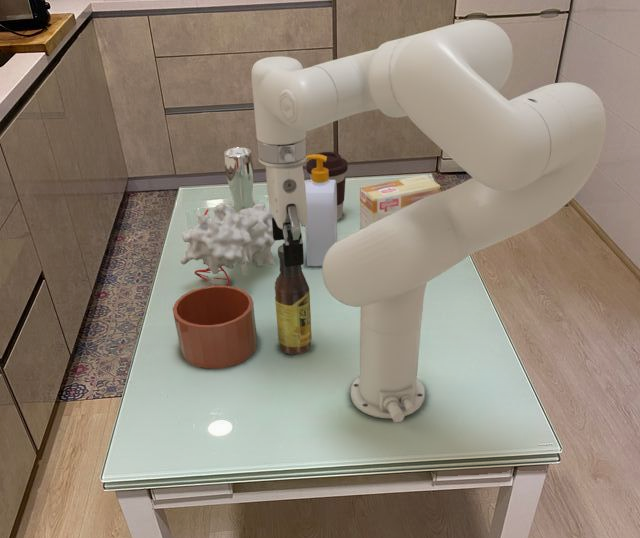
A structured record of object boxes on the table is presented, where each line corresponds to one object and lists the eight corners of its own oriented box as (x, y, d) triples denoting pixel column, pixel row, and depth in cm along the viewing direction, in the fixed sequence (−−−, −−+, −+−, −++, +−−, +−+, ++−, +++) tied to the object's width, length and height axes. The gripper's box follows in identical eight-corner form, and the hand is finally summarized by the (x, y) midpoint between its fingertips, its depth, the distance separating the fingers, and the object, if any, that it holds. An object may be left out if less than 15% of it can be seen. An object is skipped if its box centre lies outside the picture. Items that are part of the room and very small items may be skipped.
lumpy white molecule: (199, 296, 156) (169, 286, 132) (194, 214, 154) (162, 189, 129) (284, 291, 155) (269, 281, 130) (280, 209, 153) (264, 183, 128)
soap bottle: (307, 248, 157) (303, 148, 142) (337, 248, 156) (336, 148, 141) (303, 267, 150) (298, 163, 135) (334, 267, 149) (332, 163, 134)
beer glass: (262, 208, 174) (257, 149, 165) (246, 218, 170) (240, 158, 160) (241, 203, 177) (234, 145, 168) (225, 213, 173) (217, 154, 163)
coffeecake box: (419, 259, 151) (425, 173, 138) (434, 274, 146) (442, 185, 133) (358, 273, 147) (358, 185, 134) (371, 288, 142) (373, 198, 129)
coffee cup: (303, 211, 172) (301, 152, 162) (340, 206, 174) (339, 146, 164) (315, 227, 165) (312, 166, 155) (353, 221, 167) (353, 160, 157)
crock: (263, 361, 123) (258, 319, 117) (184, 374, 121) (176, 332, 115) (250, 320, 134) (246, 280, 128) (178, 332, 132) (170, 291, 126)
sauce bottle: (308, 357, 124) (302, 259, 111) (275, 354, 125) (266, 256, 112) (315, 337, 129) (311, 241, 116) (283, 335, 130) (276, 239, 117)
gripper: (319, 166, 97) (321, 272, 109) (294, 128, 110) (298, 227, 121) (268, 172, 96) (276, 279, 107) (248, 133, 108) (257, 232, 120)
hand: (288, 251), depth 114 cm, fingers open, 9 cm apart
